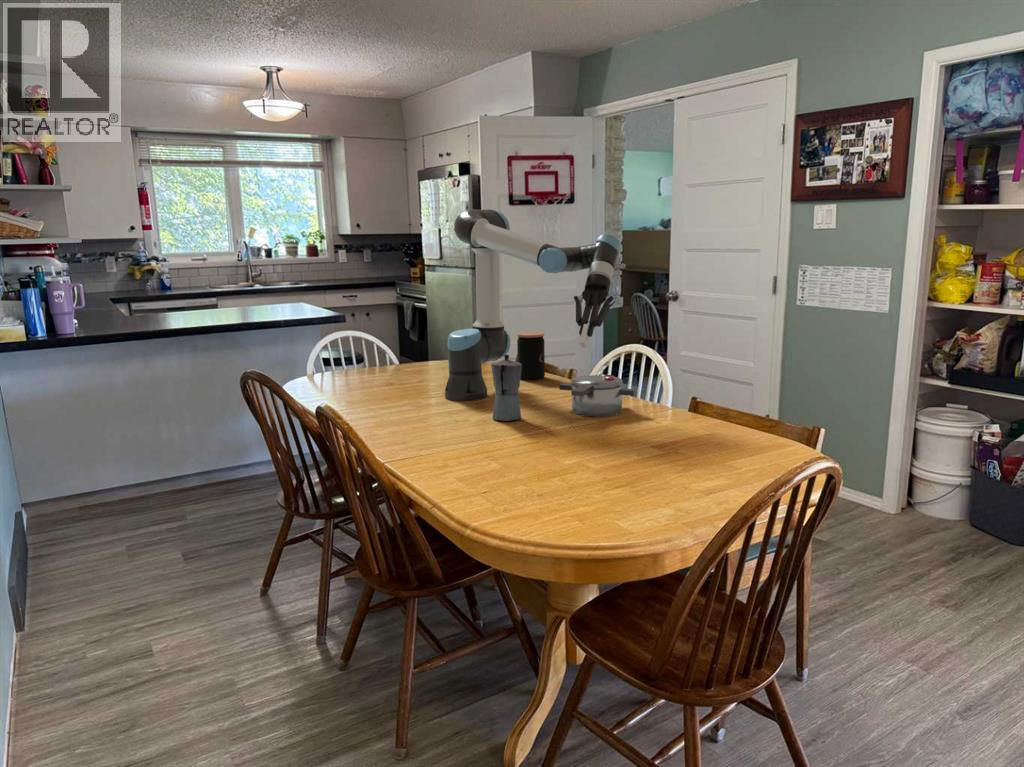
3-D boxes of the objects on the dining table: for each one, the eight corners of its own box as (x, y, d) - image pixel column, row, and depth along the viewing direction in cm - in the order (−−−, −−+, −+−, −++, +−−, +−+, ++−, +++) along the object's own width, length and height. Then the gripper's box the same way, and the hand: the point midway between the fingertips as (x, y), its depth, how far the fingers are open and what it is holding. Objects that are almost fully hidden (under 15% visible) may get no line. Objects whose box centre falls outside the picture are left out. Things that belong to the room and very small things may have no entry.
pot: (551, 412, 222) (550, 386, 220) (572, 400, 237) (572, 375, 236) (626, 420, 210) (626, 393, 208) (644, 407, 226) (644, 381, 224)
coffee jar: (545, 380, 270) (544, 335, 267) (517, 381, 271) (516, 335, 267) (544, 375, 281) (543, 331, 277) (518, 375, 281) (517, 331, 277)
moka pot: (524, 412, 222) (523, 351, 218) (520, 425, 207) (519, 359, 203) (495, 412, 223) (493, 351, 219) (489, 425, 208) (486, 360, 204)
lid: (552, 393, 210) (552, 387, 210) (584, 377, 233) (584, 371, 232) (602, 398, 203) (602, 391, 202) (630, 380, 226) (630, 374, 225)
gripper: (622, 286, 216) (607, 352, 207) (583, 286, 222) (566, 350, 213) (616, 272, 210) (600, 339, 201) (576, 272, 216) (558, 337, 206)
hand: (582, 344), depth 207 cm, fingers closed
